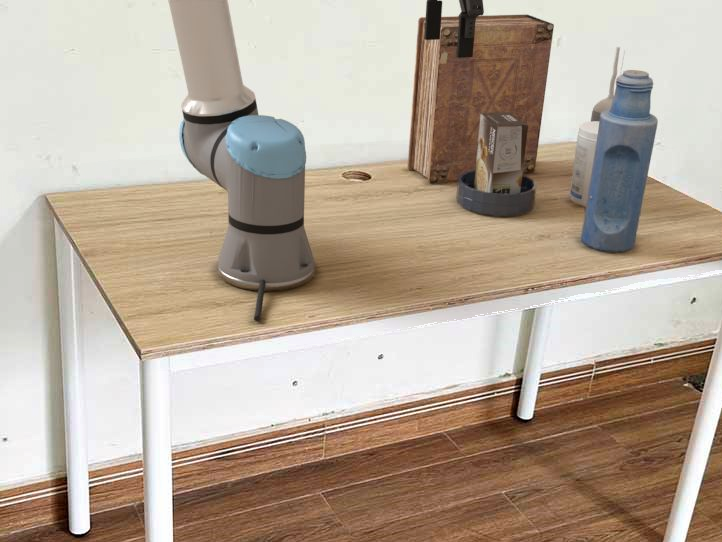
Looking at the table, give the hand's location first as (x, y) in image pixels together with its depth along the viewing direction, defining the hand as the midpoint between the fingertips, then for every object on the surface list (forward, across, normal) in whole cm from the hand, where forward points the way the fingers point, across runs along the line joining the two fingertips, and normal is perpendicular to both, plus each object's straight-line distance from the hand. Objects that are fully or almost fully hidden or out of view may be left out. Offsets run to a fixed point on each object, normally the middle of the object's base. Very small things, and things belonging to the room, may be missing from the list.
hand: (447, 48), depth 184 cm
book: (+30, +19, -16) cm, 39 cm away
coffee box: (+29, 0, -12) cm, 32 cm away
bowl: (+29, 0, -12) cm, 32 cm away
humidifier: (+30, +16, -45) cm, 57 cm away
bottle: (+30, -23, -23) cm, 44 cm away
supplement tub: (+30, -3, -32) cm, 44 cm away
